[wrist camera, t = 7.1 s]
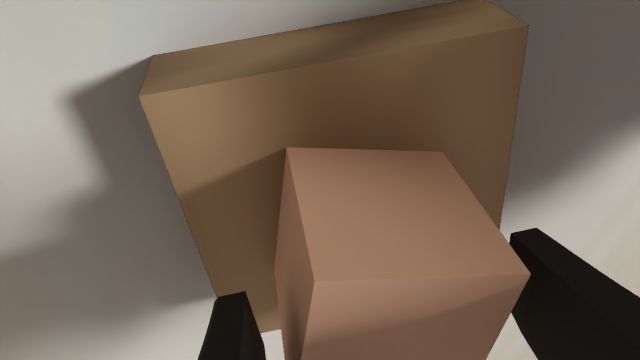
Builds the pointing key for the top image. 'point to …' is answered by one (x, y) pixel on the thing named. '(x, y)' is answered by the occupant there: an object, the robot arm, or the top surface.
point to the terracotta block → (388, 259)
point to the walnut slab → (328, 119)
